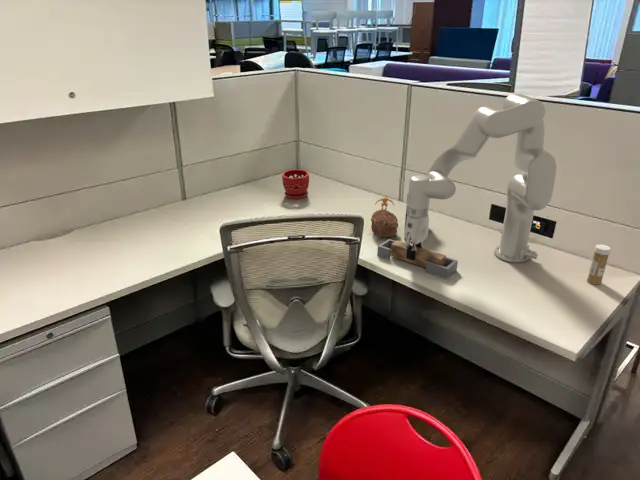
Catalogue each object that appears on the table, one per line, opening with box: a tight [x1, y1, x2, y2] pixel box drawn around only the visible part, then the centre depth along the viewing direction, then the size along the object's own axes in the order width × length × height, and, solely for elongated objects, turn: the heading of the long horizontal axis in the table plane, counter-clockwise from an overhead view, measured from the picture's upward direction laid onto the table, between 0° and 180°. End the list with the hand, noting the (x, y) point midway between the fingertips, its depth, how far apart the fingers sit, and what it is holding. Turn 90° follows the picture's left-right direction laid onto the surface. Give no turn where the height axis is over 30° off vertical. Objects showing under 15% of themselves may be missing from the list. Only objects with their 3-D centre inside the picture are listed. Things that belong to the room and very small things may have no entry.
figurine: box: [374, 194, 395, 210], centre depth 214 cm, size 8×6×12 cm
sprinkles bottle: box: [586, 243, 612, 286], centre depth 165 cm, size 5×5×13 cm
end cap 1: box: [376, 238, 396, 260], centre depth 187 cm, size 5×8×4 cm, turn 141°
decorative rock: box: [370, 208, 399, 238], centre depth 202 cm, size 13×11×10 cm
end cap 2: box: [425, 256, 459, 280], centre depth 174 cm, size 8×8×4 cm
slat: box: [390, 240, 447, 268], centre depth 180 cm, size 20×4×5 cm, turn 51°
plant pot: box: [281, 169, 310, 200], centre depth 241 cm, size 13×13×12 cm
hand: (413, 256), depth 181 cm, fingers closed on slat, 4 cm apart
